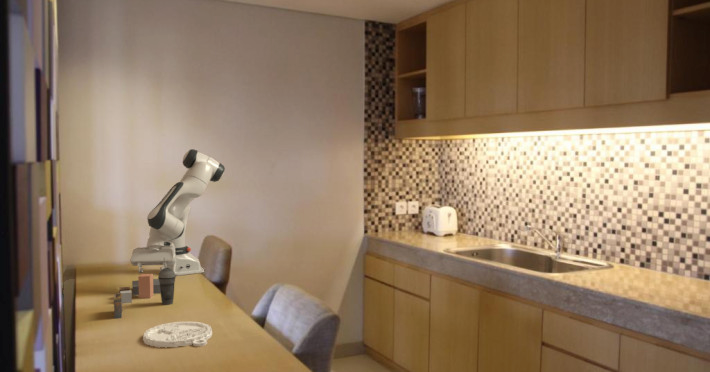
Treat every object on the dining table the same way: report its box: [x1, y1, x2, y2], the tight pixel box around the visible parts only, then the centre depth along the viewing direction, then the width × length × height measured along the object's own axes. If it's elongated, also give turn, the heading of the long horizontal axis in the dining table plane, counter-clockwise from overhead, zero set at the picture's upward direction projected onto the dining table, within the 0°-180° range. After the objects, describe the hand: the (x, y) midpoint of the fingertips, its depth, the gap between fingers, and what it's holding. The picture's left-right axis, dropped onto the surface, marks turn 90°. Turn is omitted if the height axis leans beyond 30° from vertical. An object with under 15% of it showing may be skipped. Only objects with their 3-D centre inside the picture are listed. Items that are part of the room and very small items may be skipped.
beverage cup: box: [157, 258, 177, 306], centre depth 245 cm, size 7×7×20 cm
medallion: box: [142, 320, 213, 349], centre depth 201 cm, size 24×27×2 cm
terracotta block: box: [137, 273, 154, 299], centre depth 257 cm, size 5×5×10 cm
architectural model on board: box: [113, 292, 123, 320], centre depth 229 cm, size 11×3×10 cm, turn 21°
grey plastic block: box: [120, 289, 133, 304], centre depth 248 cm, size 4×4×4 cm
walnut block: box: [118, 286, 131, 294], centre depth 255 cm, size 4×4×4 cm
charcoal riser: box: [131, 278, 161, 296], centre depth 268 cm, size 13×13×4 cm
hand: (150, 271), depth 261 cm, fingers open, 8 cm apart
